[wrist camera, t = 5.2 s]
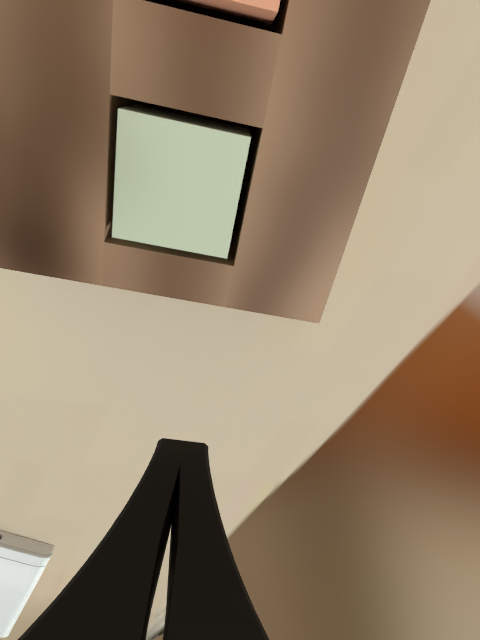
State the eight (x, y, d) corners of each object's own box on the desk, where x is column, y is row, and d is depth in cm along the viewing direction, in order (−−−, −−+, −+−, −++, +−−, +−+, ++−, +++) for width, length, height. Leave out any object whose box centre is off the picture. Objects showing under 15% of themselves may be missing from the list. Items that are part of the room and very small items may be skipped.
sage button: (128, 217, 16) (111, 237, 14) (135, 104, 14) (117, 108, 12) (228, 236, 17) (227, 258, 14) (249, 129, 15) (251, 137, 12)
